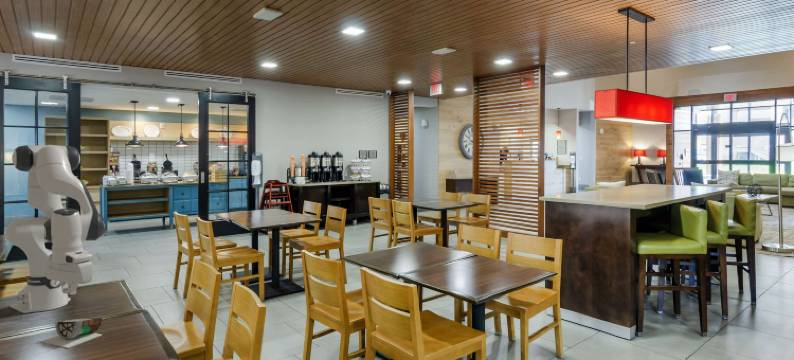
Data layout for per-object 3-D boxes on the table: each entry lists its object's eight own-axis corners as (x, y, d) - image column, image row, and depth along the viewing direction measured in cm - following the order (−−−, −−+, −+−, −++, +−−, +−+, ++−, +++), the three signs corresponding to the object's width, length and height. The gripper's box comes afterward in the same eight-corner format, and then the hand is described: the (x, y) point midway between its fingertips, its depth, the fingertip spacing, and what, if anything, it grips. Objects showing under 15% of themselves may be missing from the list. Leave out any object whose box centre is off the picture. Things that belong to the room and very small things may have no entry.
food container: (81, 334, 172) (53, 339, 163) (82, 318, 173) (54, 321, 164) (103, 335, 168) (75, 340, 158) (104, 317, 169) (76, 321, 160)
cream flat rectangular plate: (41, 342, 161) (41, 341, 161) (76, 329, 172) (76, 329, 172) (68, 348, 156) (67, 347, 156) (102, 335, 167) (102, 334, 167)
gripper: (39, 254, 163) (41, 292, 163) (77, 259, 155) (79, 299, 156) (58, 251, 168) (59, 288, 169) (96, 255, 161) (97, 294, 161)
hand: (69, 293), depth 162 cm, fingers closed
